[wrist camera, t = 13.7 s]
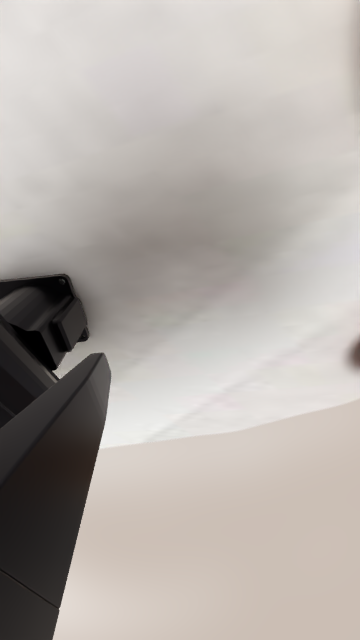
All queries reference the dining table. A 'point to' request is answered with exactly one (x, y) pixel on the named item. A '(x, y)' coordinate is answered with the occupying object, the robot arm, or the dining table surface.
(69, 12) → the dining table surface
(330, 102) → the dining table surface
